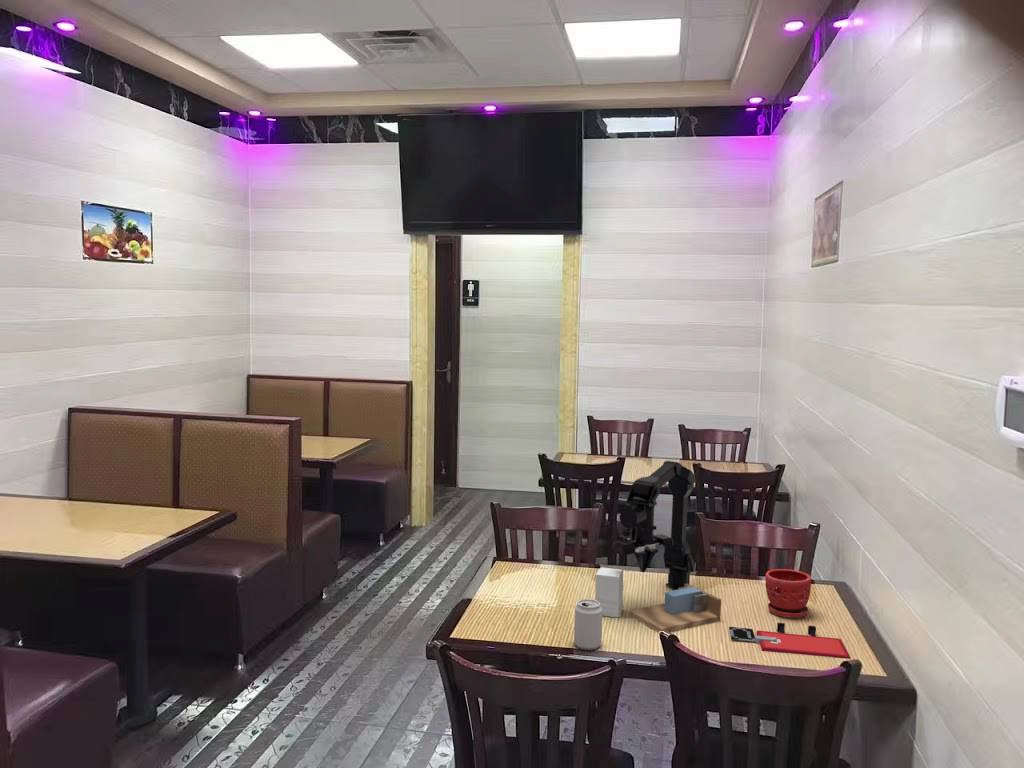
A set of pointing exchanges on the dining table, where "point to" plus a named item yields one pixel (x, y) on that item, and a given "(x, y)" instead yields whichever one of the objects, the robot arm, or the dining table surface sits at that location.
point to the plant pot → (788, 592)
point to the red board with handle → (793, 642)
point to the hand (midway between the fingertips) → (642, 571)
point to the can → (588, 624)
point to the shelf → (681, 614)
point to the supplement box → (609, 591)
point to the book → (680, 600)
